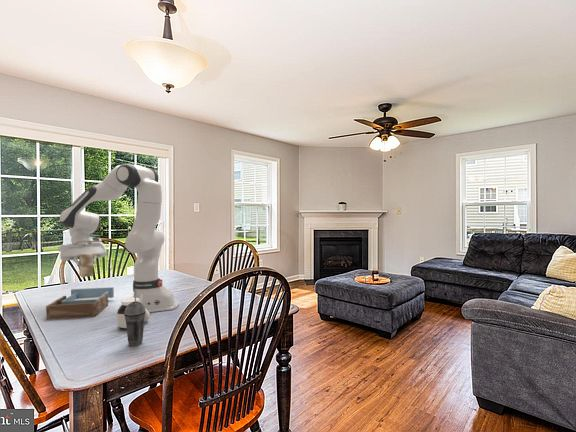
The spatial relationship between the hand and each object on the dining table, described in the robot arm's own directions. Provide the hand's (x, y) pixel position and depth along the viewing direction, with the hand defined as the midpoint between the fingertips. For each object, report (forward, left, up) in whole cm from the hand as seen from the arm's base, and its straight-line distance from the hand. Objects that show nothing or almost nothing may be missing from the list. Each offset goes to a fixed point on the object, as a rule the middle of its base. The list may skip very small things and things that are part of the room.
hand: (86, 264), depth 161 cm
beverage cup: (-35, +53, -22) cm, 67 cm away
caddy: (0, +8, -21) cm, 23 cm away
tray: (0, -2, -20) cm, 20 cm away
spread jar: (-30, +33, -22) cm, 50 cm away
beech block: (0, -1, -6) cm, 6 cm away
